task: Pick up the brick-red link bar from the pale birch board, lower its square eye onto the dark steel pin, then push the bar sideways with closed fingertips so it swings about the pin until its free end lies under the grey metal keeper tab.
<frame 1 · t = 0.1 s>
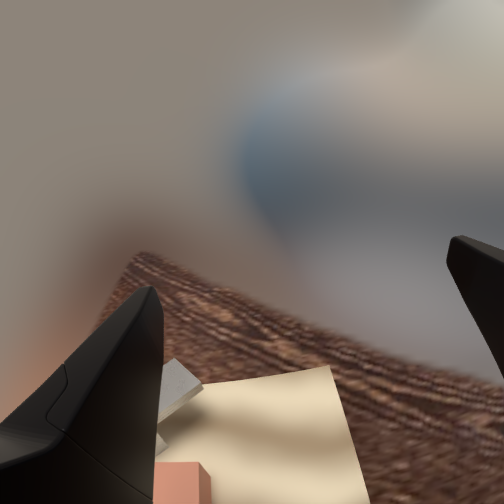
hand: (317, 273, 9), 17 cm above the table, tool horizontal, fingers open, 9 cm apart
link: (181, 477, 17), point 1 cm above the table, touching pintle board
keeper: (146, 445, 19), resting on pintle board
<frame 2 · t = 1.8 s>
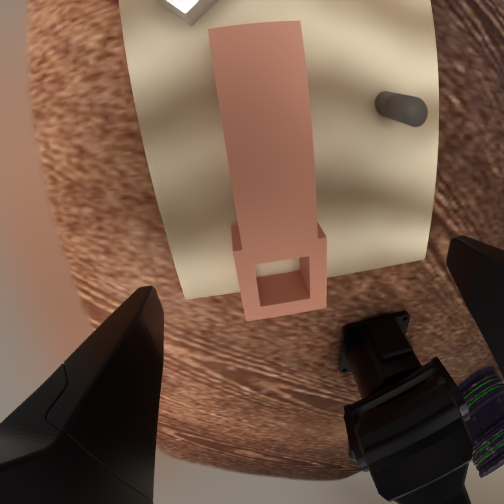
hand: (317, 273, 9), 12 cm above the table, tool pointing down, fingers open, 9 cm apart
link: (248, 32, 14), point 1 cm above the table, touching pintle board
storage jar: (470, 386, 38), on the table
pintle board: (299, 96, 17), on the table
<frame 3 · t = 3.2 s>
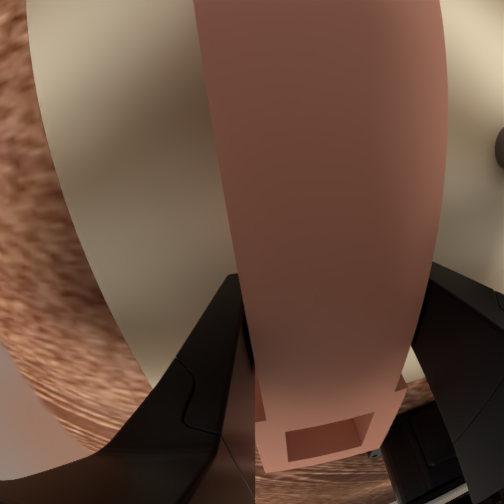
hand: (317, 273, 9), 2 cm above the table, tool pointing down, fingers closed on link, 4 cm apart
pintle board: (374, 122, 8), on the table
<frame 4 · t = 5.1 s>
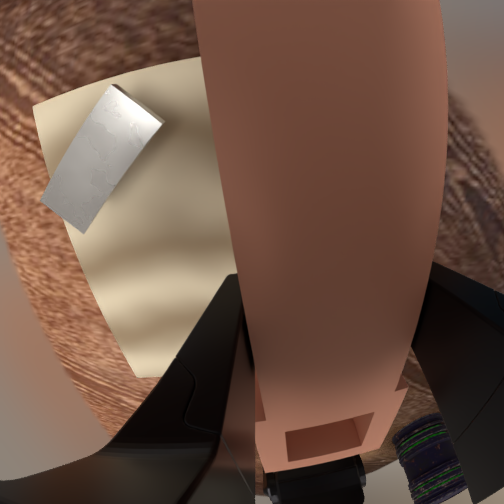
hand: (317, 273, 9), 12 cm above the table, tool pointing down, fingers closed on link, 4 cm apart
storage jar: (417, 428, 43), on the table
keeper: (101, 171, 17), resting on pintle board
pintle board: (205, 244, 22), on the table
when the fingers open (3 cm above the table, at t = 6.8 s): link stays where it is, resting on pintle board.
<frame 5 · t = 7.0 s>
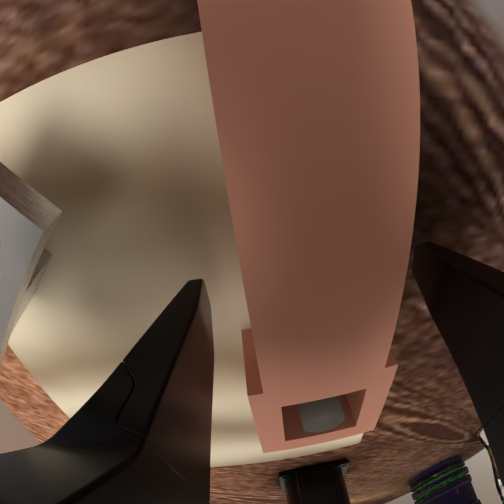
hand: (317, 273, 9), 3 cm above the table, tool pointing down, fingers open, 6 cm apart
storage jar: (434, 468, 35), on the table
keeper: (16, 257, 9), resting on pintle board
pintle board: (191, 349, 14), on the table
beer glass: (492, 420, 29), on the table
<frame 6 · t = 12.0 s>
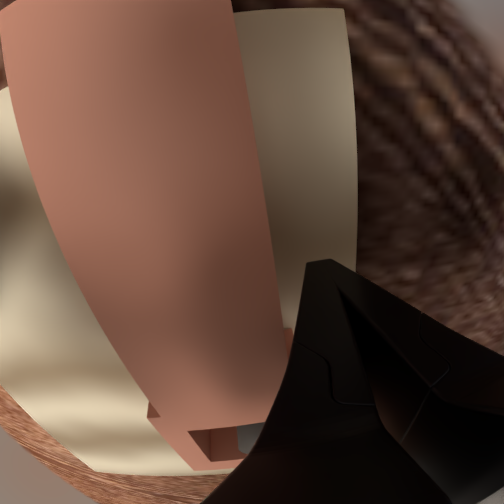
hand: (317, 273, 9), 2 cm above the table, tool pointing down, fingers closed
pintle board: (138, 362, 13), on the table
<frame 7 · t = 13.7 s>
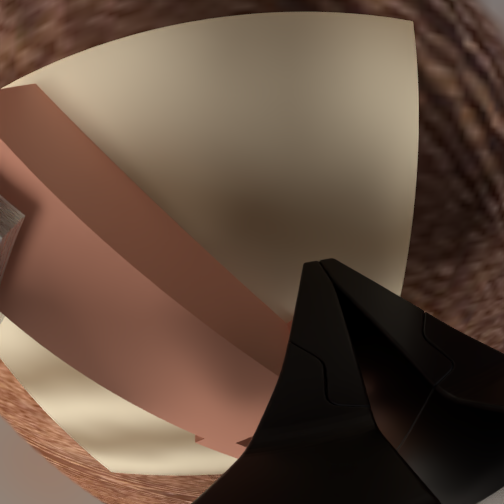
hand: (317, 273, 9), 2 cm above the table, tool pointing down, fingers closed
link: (1, 137, 7), point 1 cm above the table, touching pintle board
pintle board: (177, 358, 13), on the table
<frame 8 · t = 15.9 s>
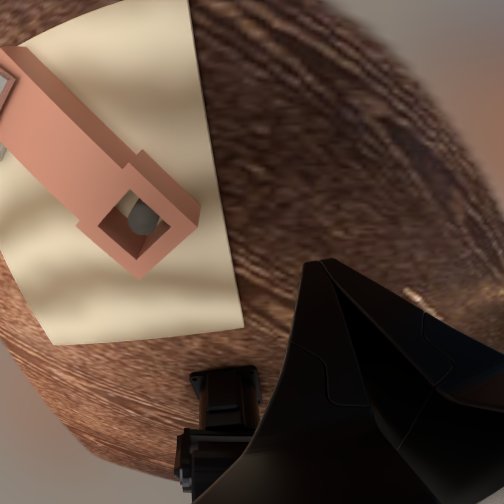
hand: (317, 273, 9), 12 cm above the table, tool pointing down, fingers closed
link: (8, 71, 13), point 1 cm above the table, touching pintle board
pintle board: (87, 200, 19), on the table
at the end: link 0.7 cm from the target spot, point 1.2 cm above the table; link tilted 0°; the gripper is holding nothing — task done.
